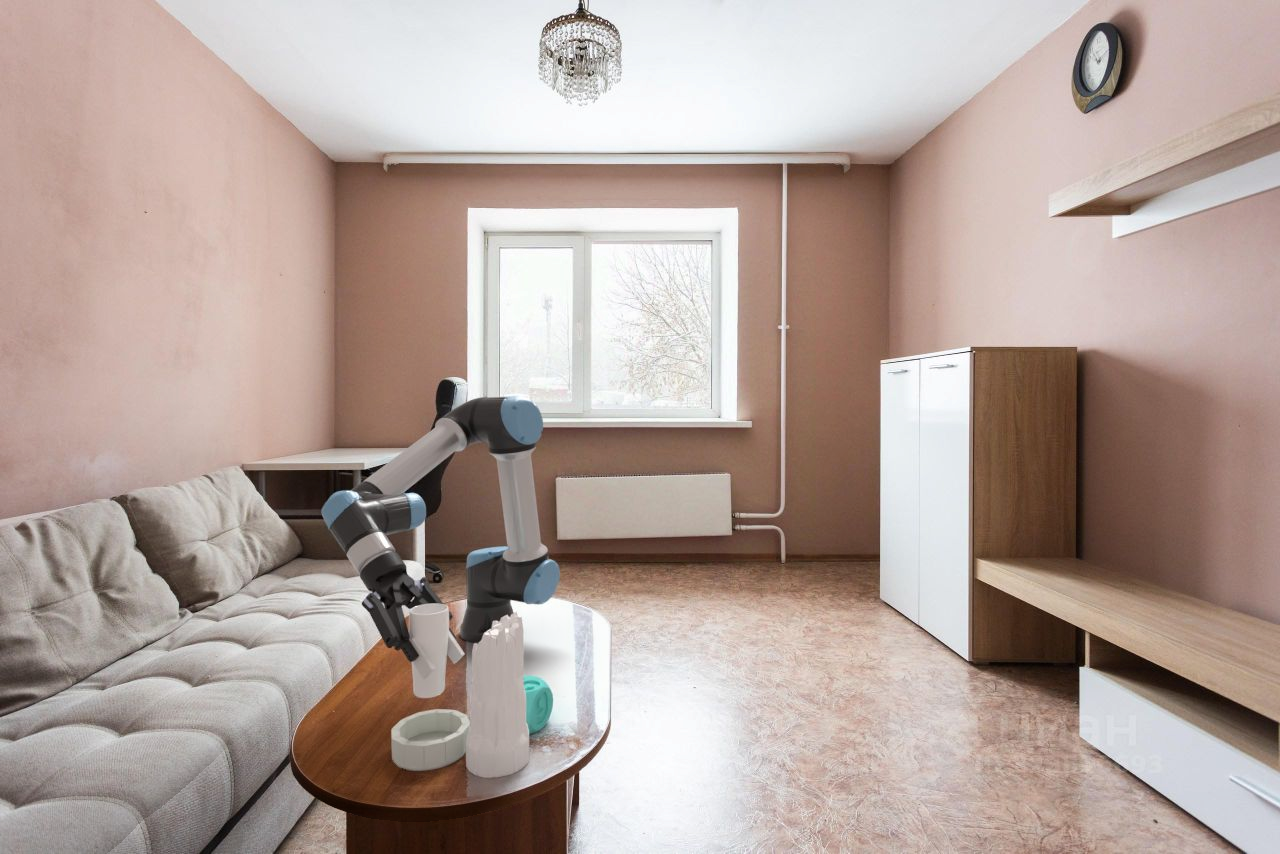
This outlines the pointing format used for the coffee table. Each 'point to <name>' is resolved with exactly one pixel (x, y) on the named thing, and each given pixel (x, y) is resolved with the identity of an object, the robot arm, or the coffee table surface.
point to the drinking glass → (430, 646)
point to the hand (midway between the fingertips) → (444, 666)
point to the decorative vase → (498, 702)
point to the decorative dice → (537, 702)
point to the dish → (429, 739)
